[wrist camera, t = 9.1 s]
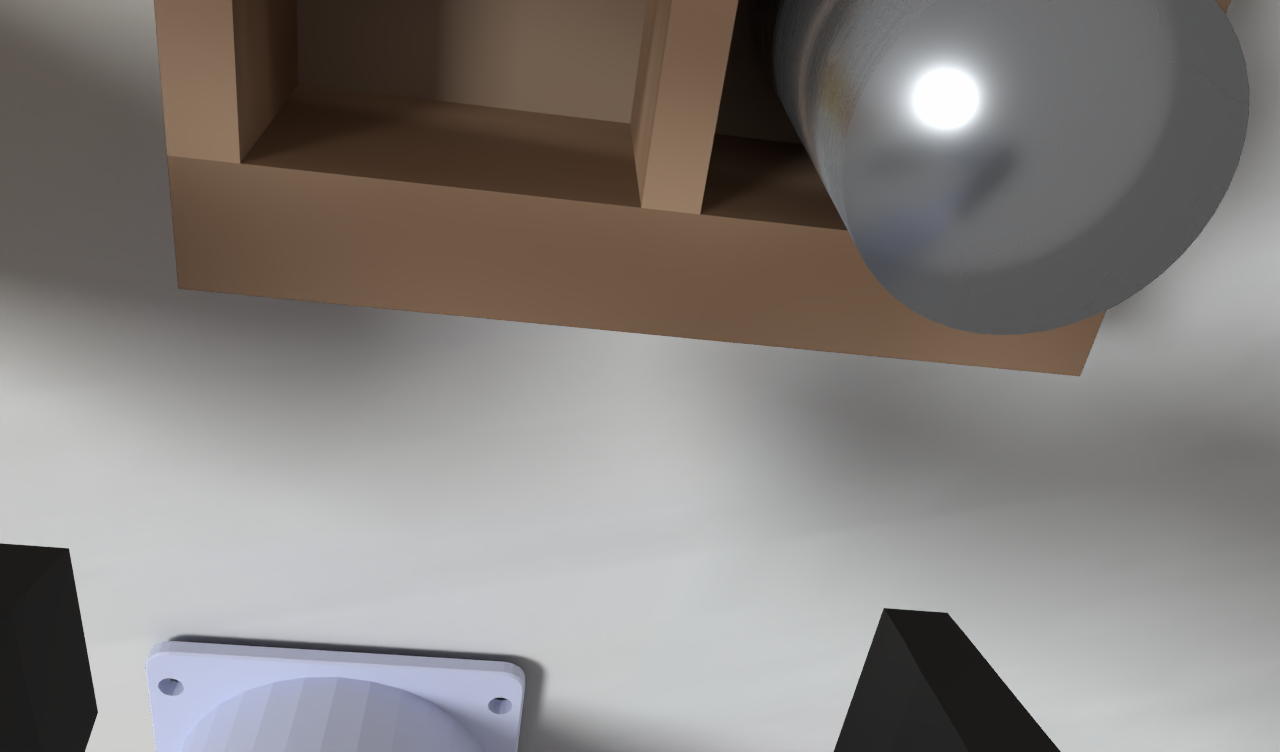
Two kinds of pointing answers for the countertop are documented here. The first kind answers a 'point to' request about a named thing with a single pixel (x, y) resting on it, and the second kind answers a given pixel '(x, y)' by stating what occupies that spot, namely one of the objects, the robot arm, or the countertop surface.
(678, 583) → the countertop surface
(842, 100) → the peg
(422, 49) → the socket block
